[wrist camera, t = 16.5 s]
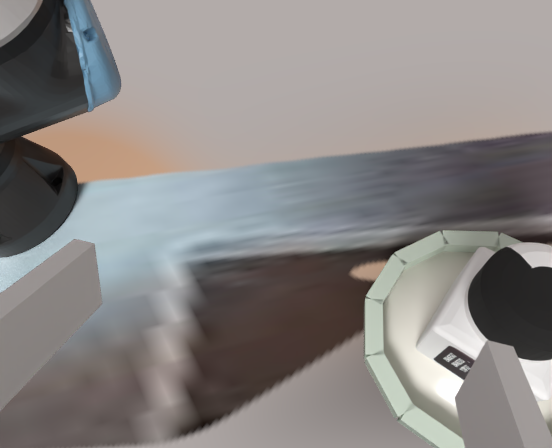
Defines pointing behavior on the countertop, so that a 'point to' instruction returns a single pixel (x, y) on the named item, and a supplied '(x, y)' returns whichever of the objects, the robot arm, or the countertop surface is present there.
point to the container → (497, 313)
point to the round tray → (410, 326)
